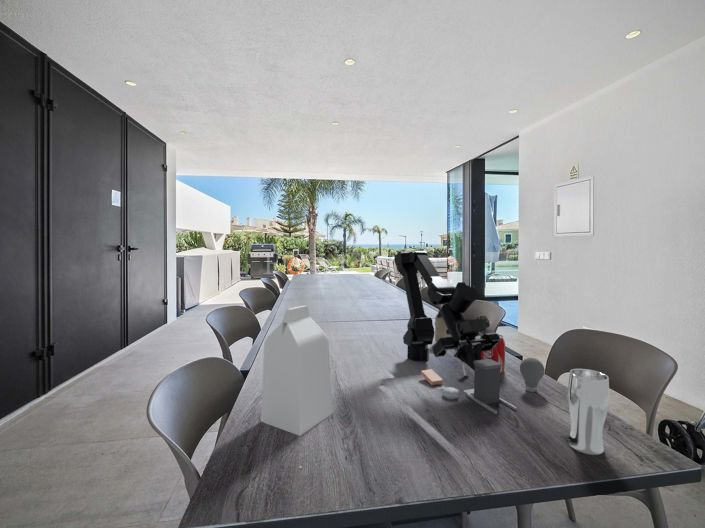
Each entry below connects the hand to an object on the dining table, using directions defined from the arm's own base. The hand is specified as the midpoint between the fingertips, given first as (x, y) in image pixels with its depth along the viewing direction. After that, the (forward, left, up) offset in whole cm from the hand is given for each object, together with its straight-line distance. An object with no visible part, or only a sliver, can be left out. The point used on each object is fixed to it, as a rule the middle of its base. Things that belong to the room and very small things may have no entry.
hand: (481, 373), depth 94 cm
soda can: (+1, +23, -8) cm, 24 cm away
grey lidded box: (+2, -2, -6) cm, 6 cm away
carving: (-20, +49, -8) cm, 53 cm away
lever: (-5, +13, -6) cm, 15 cm away
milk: (-37, -28, -8) cm, 47 cm away
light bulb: (+12, +11, -7) cm, 18 cm away
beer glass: (+22, -12, -8) cm, 26 cm away
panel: (-4, +3, -7) cm, 9 cm away
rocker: (-14, +4, -5) cm, 15 cm away
